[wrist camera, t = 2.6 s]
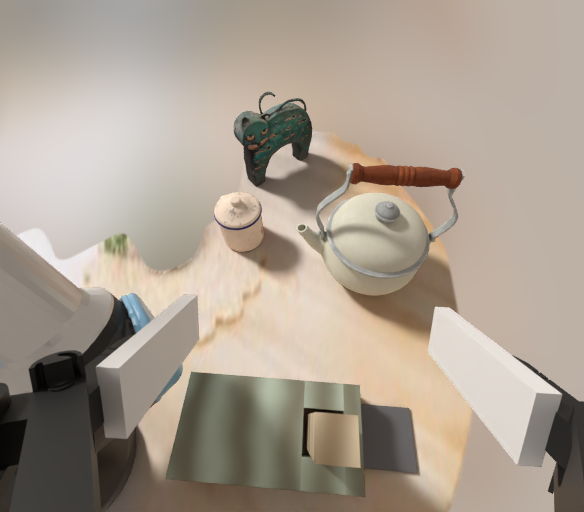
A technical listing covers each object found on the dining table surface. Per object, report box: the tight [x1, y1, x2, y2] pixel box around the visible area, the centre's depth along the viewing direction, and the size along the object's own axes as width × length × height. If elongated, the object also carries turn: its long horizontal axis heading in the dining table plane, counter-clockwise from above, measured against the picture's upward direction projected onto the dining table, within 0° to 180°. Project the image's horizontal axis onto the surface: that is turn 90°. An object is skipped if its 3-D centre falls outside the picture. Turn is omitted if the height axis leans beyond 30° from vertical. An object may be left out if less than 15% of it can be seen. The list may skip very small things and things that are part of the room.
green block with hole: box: [165, 372, 365, 497], centre depth 39 cm, size 24×12×7 cm, turn 86°
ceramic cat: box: [234, 92, 312, 186], centre depth 62 cm, size 20×6×20 cm, turn 129°
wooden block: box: [306, 412, 361, 468], centre depth 32 cm, size 4×4×16 cm
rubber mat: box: [361, 404, 417, 473], centre depth 41 cm, size 8×8×1 cm
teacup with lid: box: [214, 192, 264, 252], centre depth 55 cm, size 12×9×12 cm
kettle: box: [296, 163, 465, 295], centre depth 46 cm, size 25×18×25 cm
